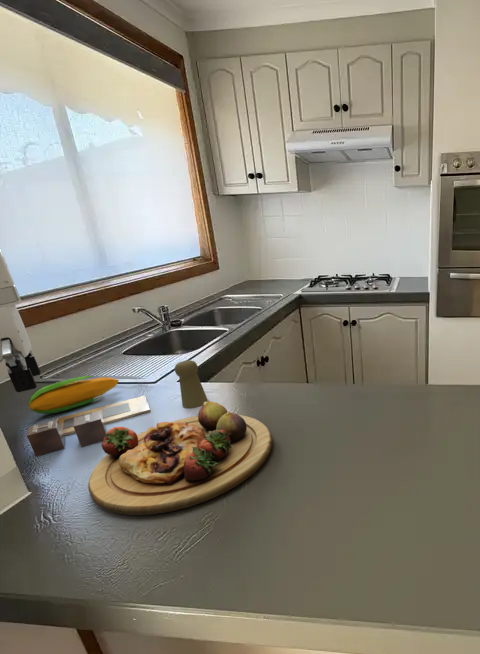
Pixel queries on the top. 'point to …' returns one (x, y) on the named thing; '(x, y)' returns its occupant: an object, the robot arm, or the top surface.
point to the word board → (108, 413)
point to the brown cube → (90, 428)
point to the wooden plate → (178, 461)
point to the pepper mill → (190, 384)
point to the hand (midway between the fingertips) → (29, 382)
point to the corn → (69, 394)
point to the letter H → (46, 437)
